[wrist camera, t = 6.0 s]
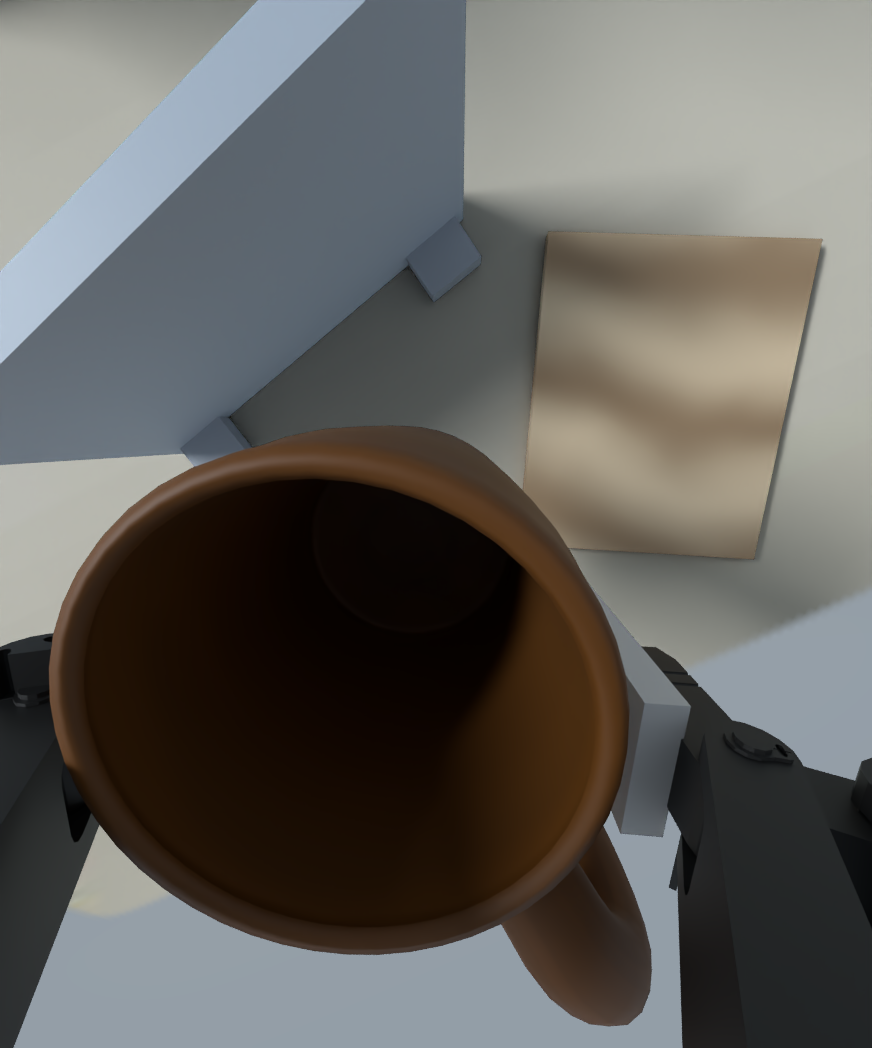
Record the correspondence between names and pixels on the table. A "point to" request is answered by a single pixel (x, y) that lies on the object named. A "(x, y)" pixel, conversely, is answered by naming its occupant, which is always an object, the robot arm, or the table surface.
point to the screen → (238, 230)
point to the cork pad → (663, 387)
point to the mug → (359, 709)
